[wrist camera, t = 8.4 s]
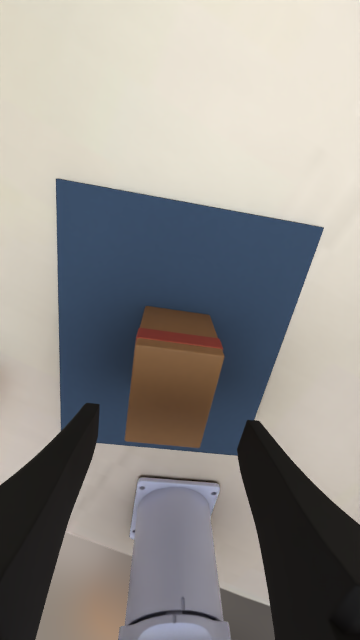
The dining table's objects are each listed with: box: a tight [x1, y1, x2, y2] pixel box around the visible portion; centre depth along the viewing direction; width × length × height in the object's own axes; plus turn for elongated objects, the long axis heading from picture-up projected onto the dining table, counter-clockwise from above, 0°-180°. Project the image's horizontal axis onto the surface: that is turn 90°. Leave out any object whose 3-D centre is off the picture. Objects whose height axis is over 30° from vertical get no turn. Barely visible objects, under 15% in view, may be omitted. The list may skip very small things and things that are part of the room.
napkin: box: [56, 179, 324, 456], centre depth 19 cm, size 20×16×1 cm
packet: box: [125, 306, 224, 448], centre depth 16 cm, size 7×5×6 cm
